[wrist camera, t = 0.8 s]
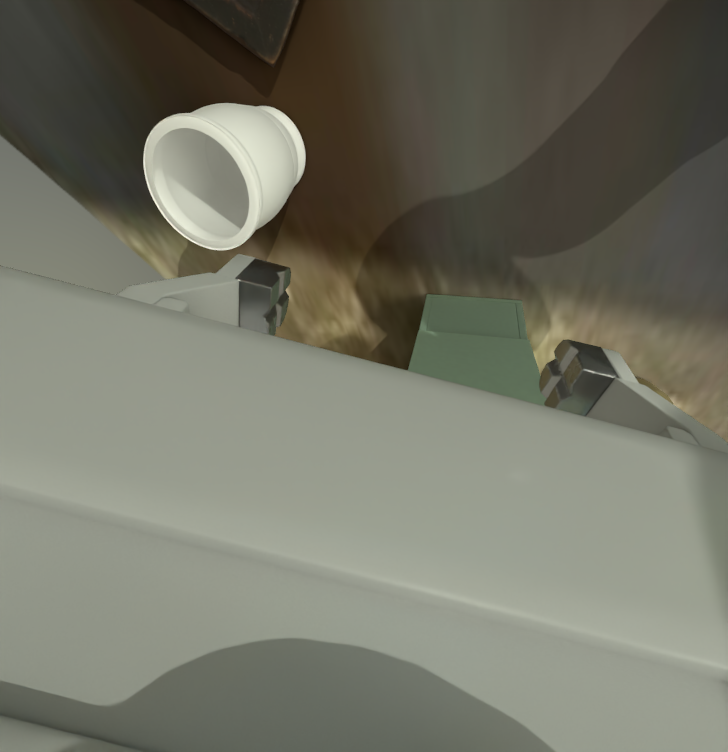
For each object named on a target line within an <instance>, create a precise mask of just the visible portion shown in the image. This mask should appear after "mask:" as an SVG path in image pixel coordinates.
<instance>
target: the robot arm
mask: <svg viewBox="0 0 728 752" xmlns="http://www.w3.org/2000/svg"><path fill="white" fill-rule="evenodd" d="M290 278H291V271H290V268H289V267H285V266H281V265H278V264H274V263H271V262H267V261H263V260H260V259H256V258H255V257H250V256H246V255H241V254H237V255H236V256H235V257H234V258H233V259H231V260H230V261H229V262H228V263H227V264H226V265H225V266H223V267H222V268H221V269H220V270H219V271H218V272H217V273H215V274H214V273H204V274H197V275H191V276H185V277H179V278H173V279H167V280H161V281H155V282H148V283H142V284H136V285H130V286H128V287H127V288H125V289H124V290H122V291H121V292H119V293H118V294H116V295H113V294H109V293H106V292H102V291H98V290H94V289H90V288H86V287H82V286H78V285H75V284H71V283H67V282H63V281H59V280H54V279H51V278H47V277H44V276H40V275H36V274H32V273H28V272H24V271H20V270H16V269H13V268H8V267H4V266H1V265H0V752H728V443H727V442H726V441H725V440H724V439H723V438H721V437H720V436H718V435H717V434H715V433H714V432H713V431H711V430H710V429H708V428H707V427H705V426H704V425H702V424H701V423H699V422H698V421H696V420H695V419H694V418H692V417H691V416H689V415H688V414H686V413H685V412H683V411H682V410H680V409H679V408H677V407H676V406H675V405H673V404H672V403H670V402H669V401H667V400H666V399H664V398H663V397H661V396H660V395H658V394H657V393H656V392H654V391H653V390H651V389H650V388H648V387H647V386H645V385H642V384H639V382H638V381H637V379H636V378H635V376H634V375H633V373H632V372H631V370H630V369H629V367H628V366H627V364H626V363H625V361H624V360H623V358H622V357H621V355H620V353H618V352H616V351H613V350H608V349H603V348H601V347H597V346H593V345H589V344H584V343H580V342H576V341H571V340H563V341H562V342H561V343H560V344H559V345H558V346H557V348H556V350H555V351H554V353H555V358H556V359H554V360H553V361H551V362H549V363H547V364H546V366H545V368H544V369H543V371H542V373H541V377H540V381H539V388H540V392H541V394H542V395H543V396H544V397H546V398H547V399H546V401H545V402H544V404H545V406H543V405H539V404H535V403H531V402H527V401H524V400H520V399H516V398H512V397H508V396H504V395H500V394H496V393H493V392H489V391H485V390H481V389H477V388H473V387H469V386H466V385H462V384H458V383H454V382H450V381H446V380H442V379H438V378H435V377H431V376H427V375H423V374H419V373H415V372H411V371H408V370H404V369H400V368H396V367H392V366H388V365H384V364H380V363H377V362H373V361H369V360H365V359H361V358H357V357H353V356H350V355H346V354H342V353H338V352H334V351H330V350H326V349H322V348H319V347H315V346H311V345H307V344H303V343H299V342H295V341H291V340H288V339H284V338H280V337H276V336H274V335H275V333H276V327H278V326H281V324H282V322H283V321H284V318H285V315H286V312H287V307H288V300H289V296H288V294H287V293H286V291H285V290H286V288H287V287H288V286H289V284H290Z"/></svg>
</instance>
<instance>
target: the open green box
mask: <svg viewBox="0 0 728 752" xmlns="http://www.w3.org/2000/svg"><path fill="white" fill-rule="evenodd" d="M419 330H422V331H433V332H445V333H456V334H468V335H479V336H491V337H502V338H514V339H526V340H528V338H527V332H526V326H525V319H524V313H523V306H522V301H521V300H507V299H493V298H478V297H464V296H449V295H435V294H427V295H426V300H425V305H424V310H423V314H422V319H421V324H420V328H419Z"/></svg>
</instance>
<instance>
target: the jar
mask: <svg viewBox="0 0 728 752" xmlns="http://www.w3.org/2000/svg"><path fill="white" fill-rule="evenodd" d="M305 160H306V156H305V148H304V143H303V140H302V137H301V135H300V133H299V131H298V129H297V128H296V126H295V125H294V123H293V122H292V121H291V120H290V119H289V118H288V117H287V116H286V115H285V114H284V113H282V112H281V111H279V110H277V109H275V108H272V107H269V106H257V107H254V106H249V105H241V104H234V103H219V104H213V105H208V106H205V107H202V108H200V109H197V110H195V111H193V112H192V113H180V114H175V115H172V116H169V117H167V118H166V119H164V120H162V121H161V122H159V123H158V124H157V125H156V126H155V127H154V128H153V129H152V131H151V132H150V134H149V136H148V138H147V141H146V144H145V148H144V156H143V164H144V173H145V178H146V182H147V185H148V188H149V191H150V193H151V196H152V198H153V200H154V202H155V204H156V205H157V207H158V209H159V210H160V212H161V213H162V215H163V216H164V217H165V219H166V220H167V221H168V222H169V223H170V224H171V225H172V227H173V228H174V229H176V230H177V231H178V232H179V233H180V234H181V235H183V236H184V237H185V238H187V239H188V240H190V241H192V242H193V243H195V244H197V245H200V246H202V247H205V248H208V249H213V250H229V249H233V248H236V247H238V246H240V245H241V244H243V243H244V242H245V241H246V240H248V239H249V238H250V237H251V236H252V234H253V233H254V232H255V230H256V229H258V228H260V227H262V226H263V225H265V224H266V223H268V222H269V221H270V220H271V219H272V218H273V217H274V216H275V215H276V214H277V213H278V212H279V211H280V209H281V208H282V207H283V205H284V204H285V202H286V200H287V198H288V196H289V195H290V193H291V191H292V190H293V187H294V186H295V185H296V184H297V183H298V182H299V180H300V179H301V177H302V175H303V172H304V168H305Z"/></svg>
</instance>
